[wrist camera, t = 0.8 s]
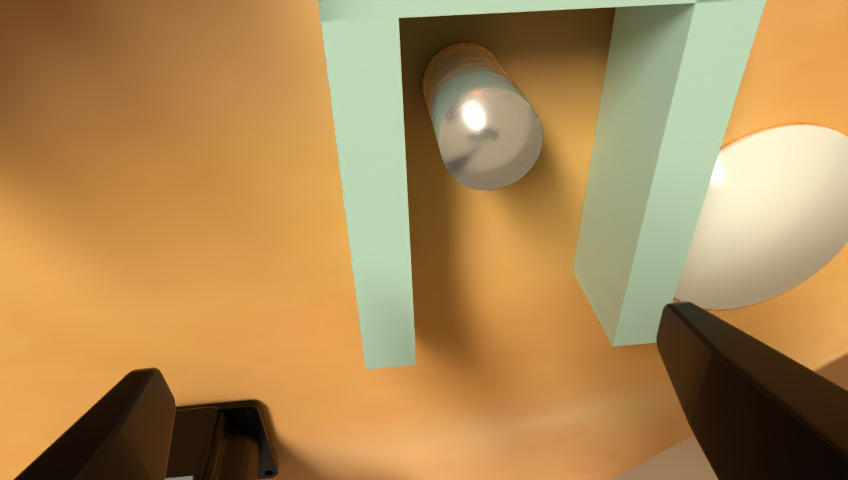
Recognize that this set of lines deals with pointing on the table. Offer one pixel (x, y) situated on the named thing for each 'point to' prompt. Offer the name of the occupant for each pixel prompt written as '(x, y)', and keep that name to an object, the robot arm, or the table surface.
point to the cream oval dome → (768, 216)
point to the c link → (610, 163)
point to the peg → (480, 118)
